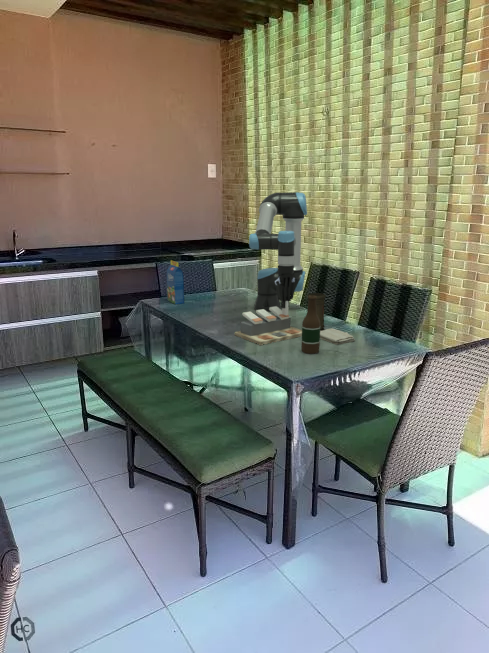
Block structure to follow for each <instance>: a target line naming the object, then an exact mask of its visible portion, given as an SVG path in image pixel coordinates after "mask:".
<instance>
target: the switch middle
mask: <svg viewBox="0 0 489 653" xmlns="http://www.w3.org/2000/svg"><path fill="white" fill-rule="evenodd" d="M255 313H256V314H257V315H259V316H260V318H264V319H265V320H267V321H268V322H270V321H275V320H276V317H275V316H276V315H275V314H274V315H273V314H271V313H270V312H267V311H266V310H264V309H261V310H255Z"/></svg>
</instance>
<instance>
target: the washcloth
mask: <svg viewBox="0 0 489 653" xmlns="http://www.w3.org/2000/svg"><path fill="white" fill-rule="evenodd" d="M320 340H322V341H324V342H328V343H331V344H333V345H336V346H337V345H343V344H348V343H353V342H355V341H356V339H355V337H354V335H351V334H349V333H348V332H346V331H345V332H344V331H342V330H339V329H335V328H326V329H325V330H323V331H320Z"/></svg>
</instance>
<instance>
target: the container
mask: <svg viewBox="0 0 489 653" xmlns="http://www.w3.org/2000/svg"><path fill="white" fill-rule="evenodd" d="M310 295H314V296H316V297H317V299H316V312H317V316H318V317H319V320H320V331H323V330H326V329H325V300H326V296H327V295H326V294H324V293H321V292H310V293H308V294H307V297H308V296H310Z"/></svg>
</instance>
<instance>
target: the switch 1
mask: <svg viewBox="0 0 489 653" xmlns="http://www.w3.org/2000/svg"><path fill="white" fill-rule="evenodd" d="M242 316H243V317H244V318H245V319H247V321H249V320H250V321H251V322H252V323H254V324H259V323H262V322H263V320H262V319H261V318H262V317H258V316H257V315H256V314H254V313H253V312H252V311H245V312H242Z"/></svg>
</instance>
